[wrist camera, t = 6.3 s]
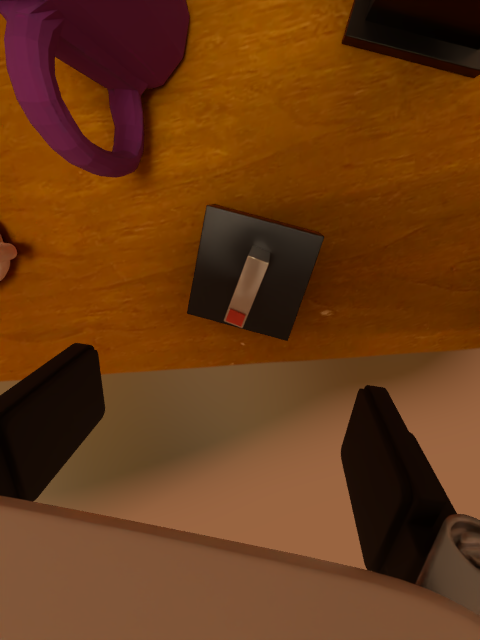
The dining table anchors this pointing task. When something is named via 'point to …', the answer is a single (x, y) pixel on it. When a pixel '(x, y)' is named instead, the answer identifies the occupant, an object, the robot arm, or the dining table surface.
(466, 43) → the stop pillar
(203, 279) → the rotary switch block
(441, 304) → the dining table surface
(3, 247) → the cat figurine
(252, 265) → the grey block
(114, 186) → the dining table surface
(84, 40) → the mug
